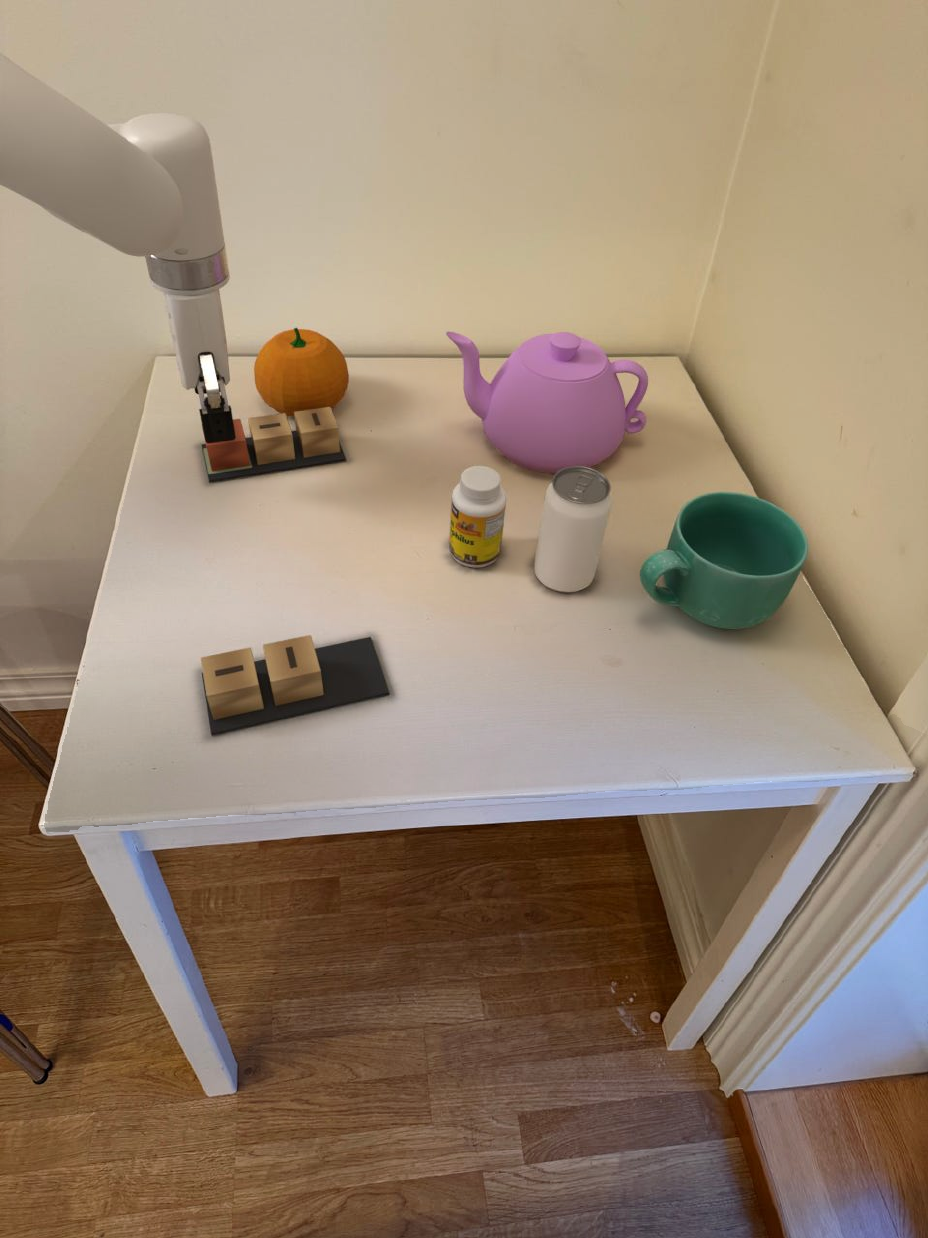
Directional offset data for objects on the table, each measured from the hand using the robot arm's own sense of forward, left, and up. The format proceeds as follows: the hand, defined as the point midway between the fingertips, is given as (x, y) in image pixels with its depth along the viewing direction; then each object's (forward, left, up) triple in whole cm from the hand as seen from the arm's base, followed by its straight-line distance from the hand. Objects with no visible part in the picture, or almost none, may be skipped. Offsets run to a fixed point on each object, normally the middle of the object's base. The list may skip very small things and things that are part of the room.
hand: (215, 415), depth 92 cm
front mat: (-17, -30, -7) cm, 35 cm away
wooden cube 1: (-21, -27, -6) cm, 35 cm away
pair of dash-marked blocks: (+7, -4, -6) cm, 10 cm away
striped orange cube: (+1, 0, -6) cm, 6 cm away
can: (+12, -40, -7) cm, 43 cm away
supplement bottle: (+8, -31, -7) cm, 33 cm away
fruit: (+15, +3, -7) cm, 17 cm away
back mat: (+5, -3, -7) cm, 9 cm away
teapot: (+30, -24, -7) cm, 39 cm away
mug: (+18, -53, -7) cm, 57 cm away
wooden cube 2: (-17, -30, -6) cm, 35 cm away
